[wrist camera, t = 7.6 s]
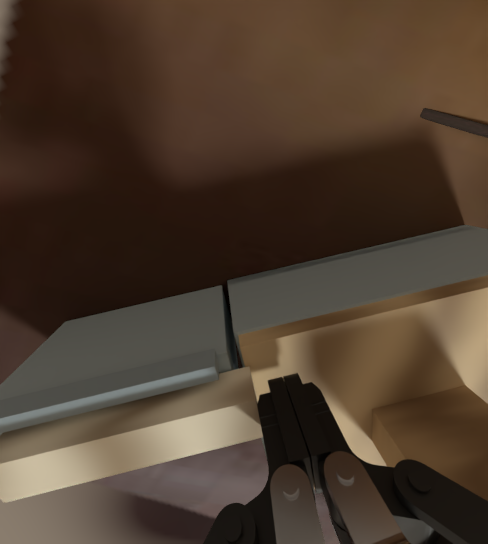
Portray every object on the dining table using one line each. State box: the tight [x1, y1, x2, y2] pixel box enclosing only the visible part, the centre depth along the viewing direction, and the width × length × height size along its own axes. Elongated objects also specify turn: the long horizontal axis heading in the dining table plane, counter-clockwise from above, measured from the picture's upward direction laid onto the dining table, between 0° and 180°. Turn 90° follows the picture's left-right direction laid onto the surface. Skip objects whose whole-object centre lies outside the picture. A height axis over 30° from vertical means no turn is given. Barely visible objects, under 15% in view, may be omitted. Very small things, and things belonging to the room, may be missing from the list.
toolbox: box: [0, 225, 488, 457], centre depth 18 cm, size 33×14×9 cm, turn 101°
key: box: [0, 366, 263, 503], centre depth 12 cm, size 12×2×2 cm, turn 102°
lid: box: [238, 275, 488, 501], centre depth 12 cm, size 20×14×8 cm
